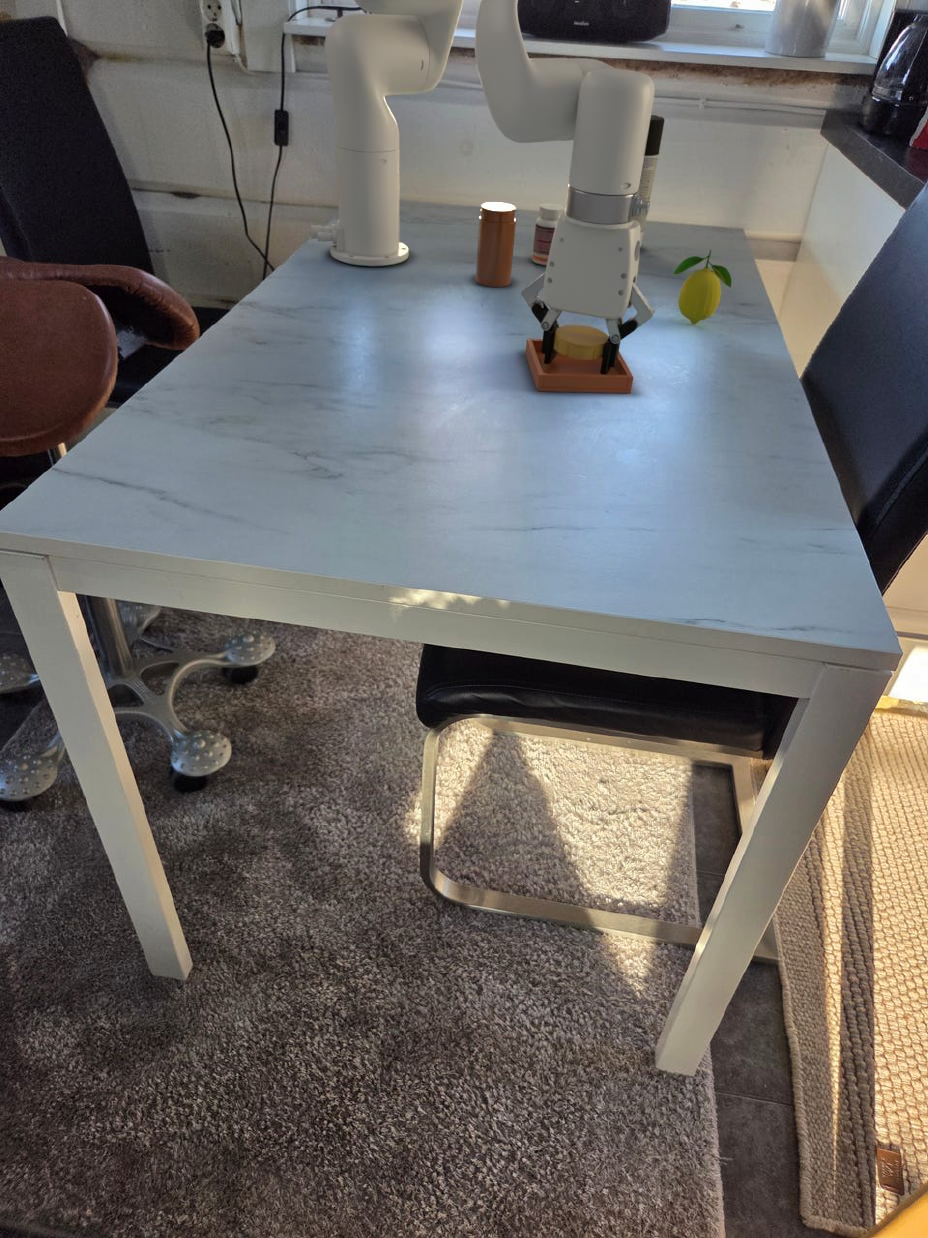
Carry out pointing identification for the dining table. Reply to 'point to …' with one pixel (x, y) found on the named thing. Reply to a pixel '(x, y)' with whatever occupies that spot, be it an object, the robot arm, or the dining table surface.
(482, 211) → the brown jar
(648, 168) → the spray can
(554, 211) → the pill bottle
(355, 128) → the robot arm
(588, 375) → the tray
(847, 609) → the dining table surface
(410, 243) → the dining table surface
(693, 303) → the lemon
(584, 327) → the jar lid
